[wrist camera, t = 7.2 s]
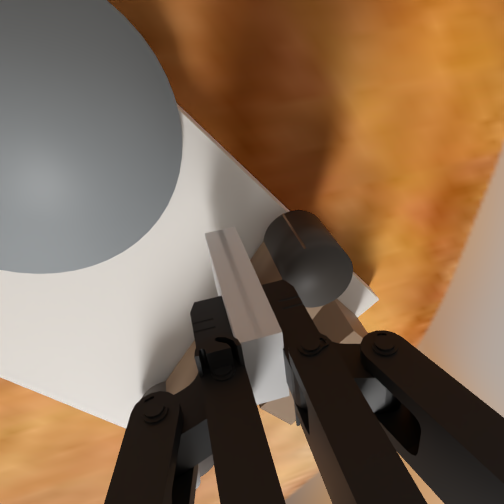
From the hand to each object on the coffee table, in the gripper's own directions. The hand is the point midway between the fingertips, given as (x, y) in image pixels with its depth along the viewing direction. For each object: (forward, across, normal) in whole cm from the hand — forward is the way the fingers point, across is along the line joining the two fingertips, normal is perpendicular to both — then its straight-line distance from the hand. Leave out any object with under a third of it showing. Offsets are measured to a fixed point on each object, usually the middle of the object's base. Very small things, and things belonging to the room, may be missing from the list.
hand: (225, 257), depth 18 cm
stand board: (+3, -5, 0) cm, 5 cm away
